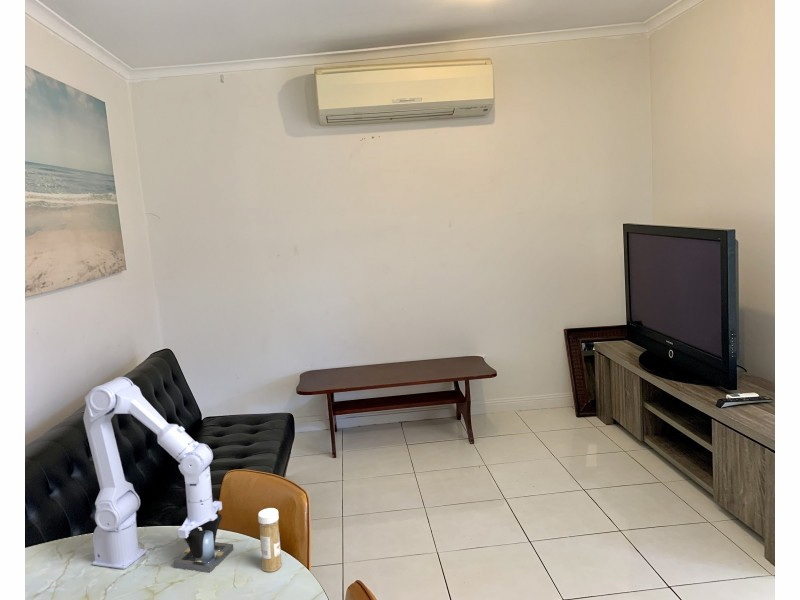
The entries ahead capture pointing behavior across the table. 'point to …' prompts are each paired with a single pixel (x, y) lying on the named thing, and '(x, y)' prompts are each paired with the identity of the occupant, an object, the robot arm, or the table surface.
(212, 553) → the blue-grey rounded tapered piece
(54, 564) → the table surface
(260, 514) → the sprinkles bottle
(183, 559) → the collar
